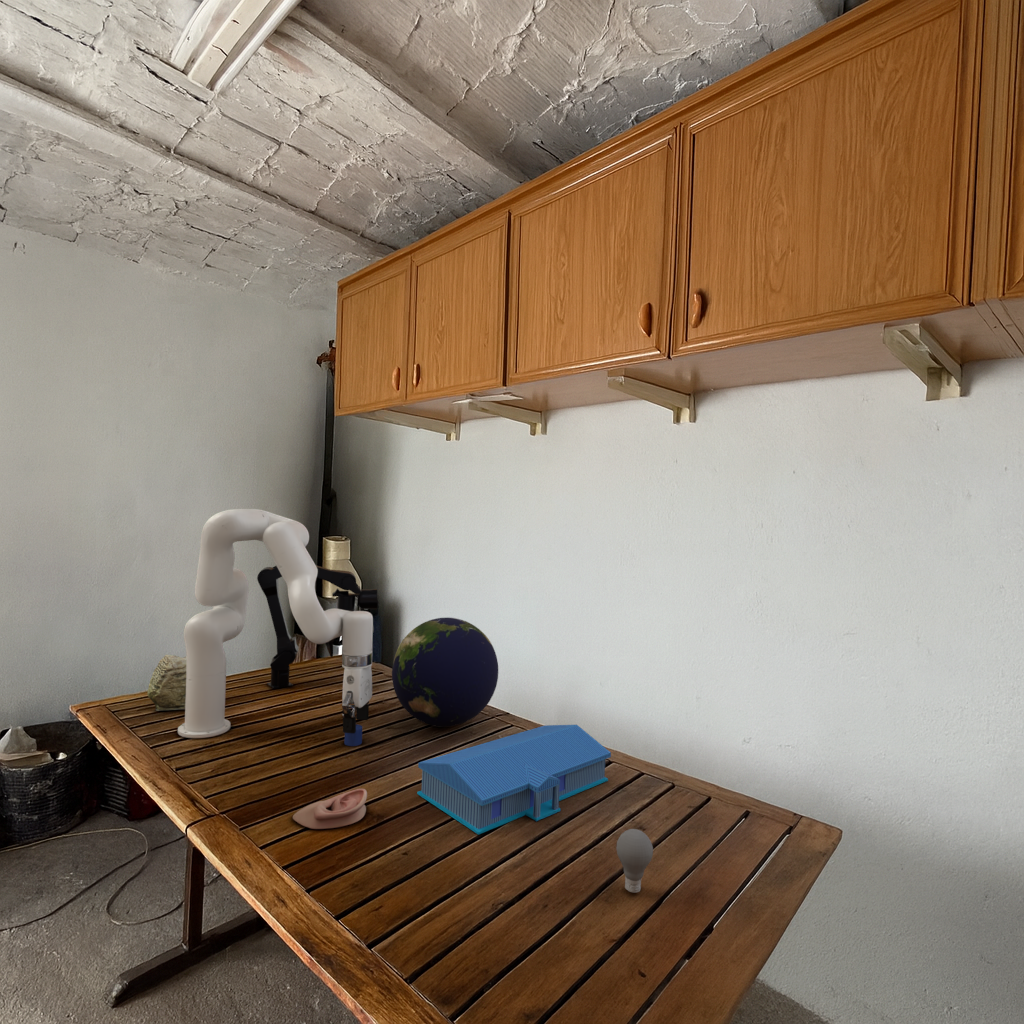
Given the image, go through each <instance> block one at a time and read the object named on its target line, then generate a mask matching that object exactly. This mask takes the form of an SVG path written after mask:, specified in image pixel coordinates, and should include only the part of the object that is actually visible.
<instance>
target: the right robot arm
mask: <svg viewBox="0 0 1024 1024" xmlns="http://www.w3.org/2000/svg"><path fill="white" fill-rule="evenodd" d="M315 565H316V567H317V569H318V573H317V578H316V579H318V580H319V579H320V580H322V581H326V582H328V583H330V584H332V585H333V586H335V587H337V588H336V589H335V590H334V591H333V592H332V597H337V606H336V607H337V608H336V609H342V610H346V611H356V607H359V609H360V610H378V606H379V600H378V589H377V588H372V589H370V588H369V589H361V586H360V585H359V584H358V583H357V577H356V575H355V574H354V573H353V572H352V571H349V570H341V569H330V568H327V567H323V566H320V565H317V564H315ZM281 578H283V577H282V575H281V573H280V571H279V570H278V568H277V566H276V565H274V566H272V567H271V566H266V567H264V568H262V569H261V570H260V571H259V573H258V574H257V577H256V579H257V582H258V584H259V587H260V589H261V591H262V593H263V594H264V596H265V598H266V601H267V605H268V610H269V613H270V617H271V621H272V625H273V628H274V632H275V636H276V654H275V655H274V656H273V657H272V659H271V662H270V664H269V666H270V668H271V669H270V682H266V685H267V687H270V688H271V689H273V690H277V689H283V688H284V689H285V688H288V687H289V688H290V687H294V684H293V683H291V682H290V670H291V668H290V667H291V666H290V665H291V664H293V663H294V662H295V660H296V659H297V654H298V652H299V648H300V646H298V644H297V636H292V635H291V634H290V632H289V629H288V624H287V621H286V617H285V613H284V609H283V604H282V601H281V597H280V593H279V579H281ZM340 589H341V590H340ZM350 592H351V593H350ZM374 632H375V627H374V626H373V633H374ZM335 639H336V638H334V639H332V640H330V641H329V642H326V643H324V644H325V647H326V649H327V652H328V655H329V657H330V658H333V657H334V641H335Z"/></svg>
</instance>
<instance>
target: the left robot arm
mask: <svg viewBox="0 0 1024 1024" xmlns="http://www.w3.org/2000/svg"><path fill="white" fill-rule="evenodd" d="M245 541H247V542H249V541H258V542H262V543H263V544H264V546H265V548H266V550H267V552H268V553H269V556H270V558H271V560H272V561H273V562H274V564H275V566H277V568H278V570H279V571H280V573H281V575H282V577H281V578H282V579H283V580H284V582H285V584H286V587H287V597H288V602H289V607H290V611H291V613H292V616H293V618H294V620H295V622H296V623H297V625H298V627H299V629H300V631H301V632H302V634H303V635H304V637H305V638H306V639H307V640H308V641H310V643H313V644H316V645H324V644H325V643H326V642H329V641H330V640H332V639H334V638H335V639H337V638H340V637H342V639H341V640H342V646H341V647H342V648H341V650H342V651H341V667H342V668H343V669H344V670H343V678H342V696H341V697H342V699H341V700H342V701H341V703H342V704H341V708H342V710H341V713H342V733H343V734H345V733H355V732H356V724H357V720H359V721H368V720H369V719H370V718H369V717H370V716H369V715H370V700H372V697H373V673H372V672H373V671H372V666H373V635H374V634H373V633H374V632H373V627H374V618H373V614H372V613H371V612H369V611H366V610H355V611H346V610H342V609H337V608H336V607H335V608H329V609H325V610H324V608H323V607H322V605H321V603H320V601H319V599H318V597H317V593H316V581H317V579H318V578H317V573H318V569H317V567H316V565H317V564H316V563H315V562H314V560H313V558H312V557H311V554H310V553H309V552H308V550H307V548H306V547H307V546H308V544H309V541H310V533H309V531H308V528H307V527H306V526H305V524H303V523H302V522H300V521H297V520H295V519H291V518H288V517H286V516H283V515H279V514H276V513H274V512H271V511H267V510H264V509H260V508H231V509H226V510H222V511H219V512H217V513H215V514H213V515H211V516H210V517H209V518H208V519H207V520H206V521H205V523H204V525H203V527H202V529H201V533H200V546H199V547H200V548H199V557H198V562H197V570H196V577H195V585H194V586H195V587H194V597H195V599H196V601H197V602H198V603H199V604H200V605H201V606H203V607H210V608H211V607H212V608H211V609H207V610H204V611H200V612H198V613H196V614H194V615H193V616H192V617H190V618H189V619H188V620H187V622H186V623H185V626H184V628H183V640H184V646H185V657H186V659H187V665H186V701H185V709H184V722H182V724H180V725H179V726H178V727H177V734H178V735H179V736H180V737H182V738H188V739H207V738H212V737H216V736H220V735H222V734H224V733H227V732H228V731H230V729H231V727H232V725H231V723H232V722H231V721H230V720H228V719H226V718H225V715H226V692H227V691H226V689H227V657H226V653H225V649H224V644H223V643H225V642H228V641H230V640H232V639H235V638H236V637H238V636H239V635H240V634H241V633H242V631H243V629H244V627H245V622H246V618H247V617H246V616H247V609H248V600H249V593H250V584H249V580H248V577H247V575H246V574H245V572H243V570H241V569H239V568H237V567H235V566H234V565H235V559H236V553H235V547H234V543H238V542H245ZM335 639H334V640H335ZM351 709H352V710H351Z"/></svg>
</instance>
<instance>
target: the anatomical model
mask: <svg viewBox="0 0 1024 1024" xmlns="http://www.w3.org/2000/svg"><path fill="white" fill-rule="evenodd" d="M367 798H368V792H367V789H365V788H356V789H353V790H349V791H346V792H344V793H341V794H338V795H336V796H333V797H330V798H328V799H326V800H319V801H316V802H313V803H310V804H308V805H306V806H304V807H303V808H301V809H299V810H298V811H296V812H295V813H294V814H293V815H292V820H293V821H295V822H297V824H299V825H301V826H302V827H306V828H308V829H312V830H324V829H334V828H341V827H345V826H348V825H352V824H354V823H357V822H359V821H361V820H362V819H363V818H364V817H365V815H366V812H367V806H366V805H365V803H366V802H367Z"/></svg>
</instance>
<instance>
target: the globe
mask: <svg viewBox="0 0 1024 1024" xmlns="http://www.w3.org/2000/svg"><path fill="white" fill-rule="evenodd" d="M498 680H499V661H498V657H497V654H496V651H495V648H494V646H493V644H492V642H491V640H490V638H488V636H487V635H486V634H485V633H484V632H483V631H482V630H481V629H480V628H478V627H477V626H476V625H474V624H472V623H470V622H468V621H466V620H463V619H460V618H456V617H450V616H449V617H437V618H433V619H429V620H427V621H424V622H422V623H420V624H418V625H417V626H416V627H414V628H413V629H411V630H410V632H409V633H408V634H407V635H405V636H404V638H403V639H402V640H401V642H400V643H399V645H398V647H397V649H396V652H395V654H394V657H393V660H392V667H391V681H392V687H393V690H394V692H395V695H396V697H397V700H398V701H399V703H400V704H401V706H402V707H403V709H404V710H405V711H406V712H407V713H408V714H409V715H410V716H412V718H414V719H415V720H418V721H419V722H421V723H424V724H426V725H429V726H432V727H437V728H448V727H455V726H459V725H462V724H464V723H467V722H469V721H471V720H472V719H474V718H475V717H477V716H478V715H479V714H480V713H481V712H482V711H483V710H484V709H485V708H486V707H487V706H488V705H489V703H490V701H491V700H492V698H493V696H494V694H495V692H496V688H497V685H498V682H499V681H498Z"/></svg>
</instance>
